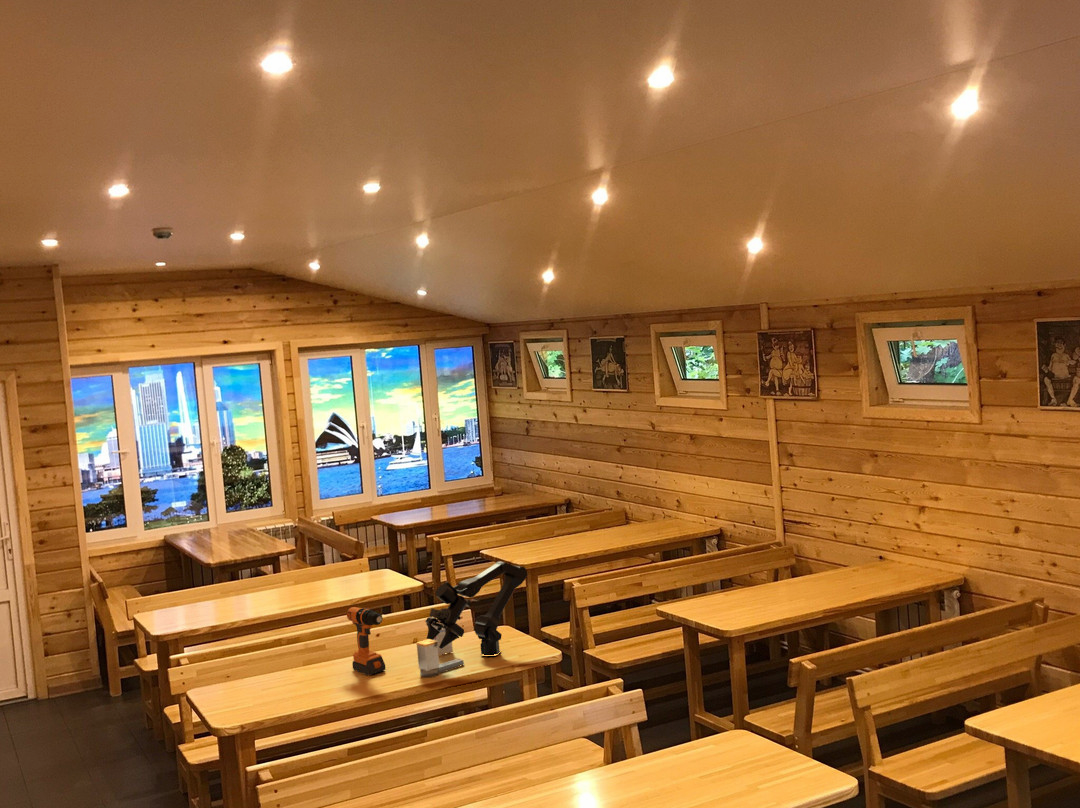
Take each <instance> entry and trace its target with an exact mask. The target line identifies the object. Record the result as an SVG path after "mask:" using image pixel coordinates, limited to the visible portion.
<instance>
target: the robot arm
mask: <svg viewBox="0 0 1080 808" xmlns="http://www.w3.org/2000/svg"><path fill="white" fill-rule="evenodd" d="M502 574H503V575H504V580H503V585H502V586H501V588H500V590H499V592H497V595H496V597H495V599H494V601H493V602H492V604H491V605H490V607H489V609H488V611H487V613H486V614H484V615H483V614H480V615H479V616H478V618H477V620H476V621H475V623H474V624H475V625H474V627H473V629H474V633H475V635H476V636H477V639H479V640H480V641H481V643H480V645H479V646H480V654H481V655H482V654H484V655H494V654H498V653H499V652H500V651H501V649H500V641H501V639H502V633H501V632H499V631H498V628H499V627H498V626H499V618H500V616H501V615H502V613H503V611H504V609H505V608H506V605H507V604H508V602H509V601H510V599H511V597H512V595H513V593H514V591H515V590H516V589H517V588H518V587H520V586H521V585H522V584H523V582H524V581H525V580H526V579H527V577H528V572H527V568H526V567H524V566H522V565H521V566H520V565H515V564H511V563H510V564H509V563H507V562H505V561H500V560H499V561H496V562H495V563H494V564H493V565H491V566H490V567H488V568H486V569H485V570H484V571H482V572H480V573H479V574H477V575H476V576H474V577H470V578H467V579H464V580H462V581H459V582H458V584H457V585H455V586H452V584H451V583H450V582H449V581H444V583H442V584H441V585H440V586H438V587H437V588H436V589H435V596H436V598H438V599H439V600H440V601H441V602H443V603H444V604H445V605H448V606H447V607H445V608H443V607H441V609H437V608H430V612H429V616H428V617H427V618H426V620H425V621H424V622H425V623H426V626H427V629H428V630H427V634H426V639H425V640H427V639H431V640H433V639H434V638H435V637H436V636H437V635H438V634H439V633H440V632H439V631H440V630H442V628H443V629H445V636H444V638H443V640H442V642H441V644H440V646H439V648H440V649H442V648H443V647H445V646H446V645H448V644H449V643H451V642H452V643H453V642H454V641H456V640H457V639H459V638H462V637H464V634H465V628H463V627H462V626H460V625H459V624H458V623H457V622H458V621H461V619H462V617H461V615H462V613H463V611H464V609H466V607H468V608H471V607H472V604H471V599H472V598H473V597H475V596H476V595H477V594H479V593H480V591H481V590H482V588H483V587H484V586H485V585H487V584H488V583H490V582H492V581H493V580H494V579H496V578H498V577H499V576H500V575H502ZM467 598H471V599H467Z"/></svg>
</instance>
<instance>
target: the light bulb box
mask: <svg viewBox="0 0 1080 808" xmlns="http://www.w3.org/2000/svg"><path fill="white" fill-rule="evenodd" d="M439 632H440V633H439V634H438V635H437V636H436V637H435V638H434V639H433V640H435V641H437V645H438V655H441V654H445V653H449V652H453V653H454V650H453V641H452V642H451V643H449V644H448V645H446V646H445V647H443V648H442V649H440V648H439V646H440V644H441V642H442V640H443V638H444V636H445V629H443V628H442V630H440V631H439ZM441 656H442V655H441Z"/></svg>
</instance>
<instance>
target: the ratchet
mask: <svg viewBox="0 0 1080 808" xmlns="http://www.w3.org/2000/svg"><path fill="white" fill-rule="evenodd" d="M464 662H465V661H464V659H462V658H461V659H460V658H455V659H452V660H449V661H446V662H442V663H439V668H436V669H433V670H430V671H425V670H422V669H419V670H420V677H422V678H434V677H436V676H439V674H441V673H443V672H444V673H445V672H447V671H446V670H448V671H450V670H449V669H451V670H453V669H452V668H454V669H456V668H455V667H457V668H459V667H458V666H460V665H463V664H464V665H465V663H464ZM464 665H463V666H464ZM460 667H461V666H460Z"/></svg>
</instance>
